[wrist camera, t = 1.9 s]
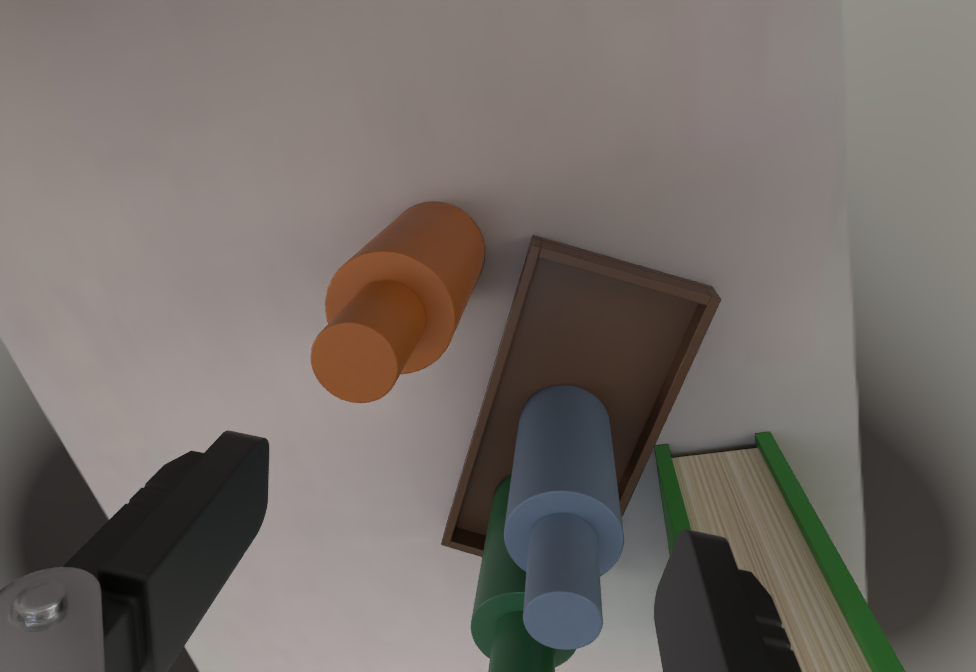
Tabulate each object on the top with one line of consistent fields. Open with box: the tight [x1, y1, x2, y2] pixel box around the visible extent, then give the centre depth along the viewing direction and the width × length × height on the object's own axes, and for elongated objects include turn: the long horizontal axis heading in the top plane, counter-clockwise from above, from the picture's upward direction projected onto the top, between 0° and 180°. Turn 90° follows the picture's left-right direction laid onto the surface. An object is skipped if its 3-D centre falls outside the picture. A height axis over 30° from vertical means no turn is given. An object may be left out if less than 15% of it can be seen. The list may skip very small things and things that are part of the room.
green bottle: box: [471, 474, 576, 672], centre depth 36 cm, size 6×6×16 cm
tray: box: [441, 235, 721, 557], centre depth 40 cm, size 11×23×2 cm, turn 166°
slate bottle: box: [504, 385, 624, 650], centre depth 33 cm, size 6×6×16 cm
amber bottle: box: [311, 202, 485, 403], centre depth 30 cm, size 6×6×16 cm
